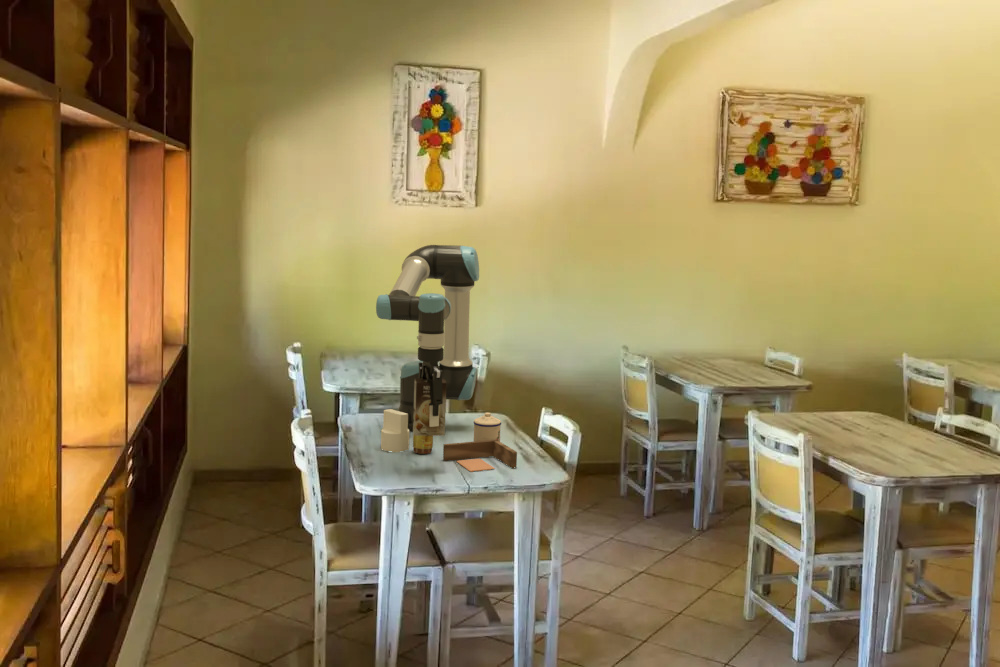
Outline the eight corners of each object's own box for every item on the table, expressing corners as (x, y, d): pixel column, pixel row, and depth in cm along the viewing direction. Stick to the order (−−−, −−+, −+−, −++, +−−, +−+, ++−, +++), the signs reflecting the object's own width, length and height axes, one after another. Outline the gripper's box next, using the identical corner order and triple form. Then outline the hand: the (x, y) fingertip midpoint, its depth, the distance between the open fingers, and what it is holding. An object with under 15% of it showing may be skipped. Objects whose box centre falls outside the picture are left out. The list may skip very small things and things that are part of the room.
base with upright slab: (414, 448, 286) (415, 412, 284) (393, 453, 279) (394, 416, 278) (396, 443, 292) (397, 407, 290) (375, 447, 285) (375, 411, 284)
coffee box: (414, 436, 259) (415, 382, 257) (412, 430, 265) (413, 378, 263) (445, 435, 261) (446, 382, 258) (443, 430, 267) (444, 377, 264)
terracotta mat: (456, 462, 273) (456, 460, 273) (480, 459, 276) (480, 458, 276) (470, 472, 263) (470, 470, 263) (494, 469, 266) (494, 468, 266)
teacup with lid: (502, 451, 286) (503, 416, 285) (474, 451, 285) (475, 416, 283) (496, 441, 298) (498, 407, 297) (470, 441, 297) (471, 407, 295)
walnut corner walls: (443, 459, 275) (443, 444, 274) (495, 454, 282) (496, 439, 282) (461, 473, 261) (462, 457, 261) (516, 467, 269) (517, 452, 268)
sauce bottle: (427, 456, 278) (428, 394, 275) (409, 453, 280) (410, 391, 278) (436, 450, 284) (437, 390, 282) (418, 448, 286) (419, 388, 284)
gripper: (407, 341, 266) (406, 415, 270) (430, 353, 248) (429, 432, 252) (430, 340, 270) (429, 413, 273) (455, 352, 251) (453, 430, 255)
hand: (429, 422), depth 263 cm, fingers closed on coffee box, 7 cm apart
